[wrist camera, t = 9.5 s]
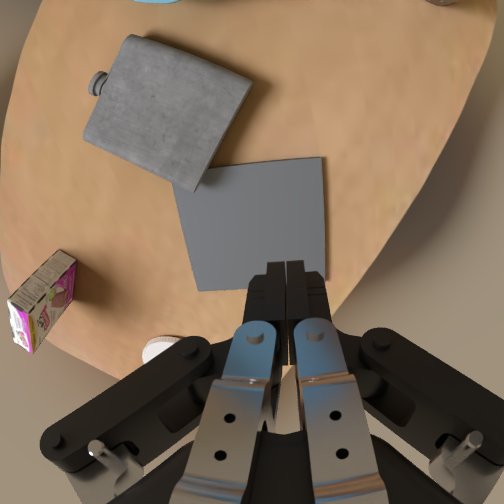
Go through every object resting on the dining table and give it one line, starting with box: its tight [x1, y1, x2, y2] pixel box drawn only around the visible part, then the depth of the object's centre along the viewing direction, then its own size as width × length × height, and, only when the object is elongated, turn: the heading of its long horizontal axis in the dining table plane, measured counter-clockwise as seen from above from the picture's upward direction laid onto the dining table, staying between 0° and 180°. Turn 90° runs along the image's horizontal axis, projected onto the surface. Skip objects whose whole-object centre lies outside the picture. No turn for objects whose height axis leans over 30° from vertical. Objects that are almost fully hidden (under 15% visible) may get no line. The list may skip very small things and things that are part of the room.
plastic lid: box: [142, 336, 180, 364], centre depth 56 cm, size 14×14×2 cm
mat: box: [172, 157, 325, 291], centre depth 42 cm, size 19×20×1 cm
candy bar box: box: [7, 250, 77, 354], centre depth 42 cm, size 11×5×16 cm, turn 153°
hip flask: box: [83, 34, 254, 193], centre depth 33 cm, size 16×4×20 cm
